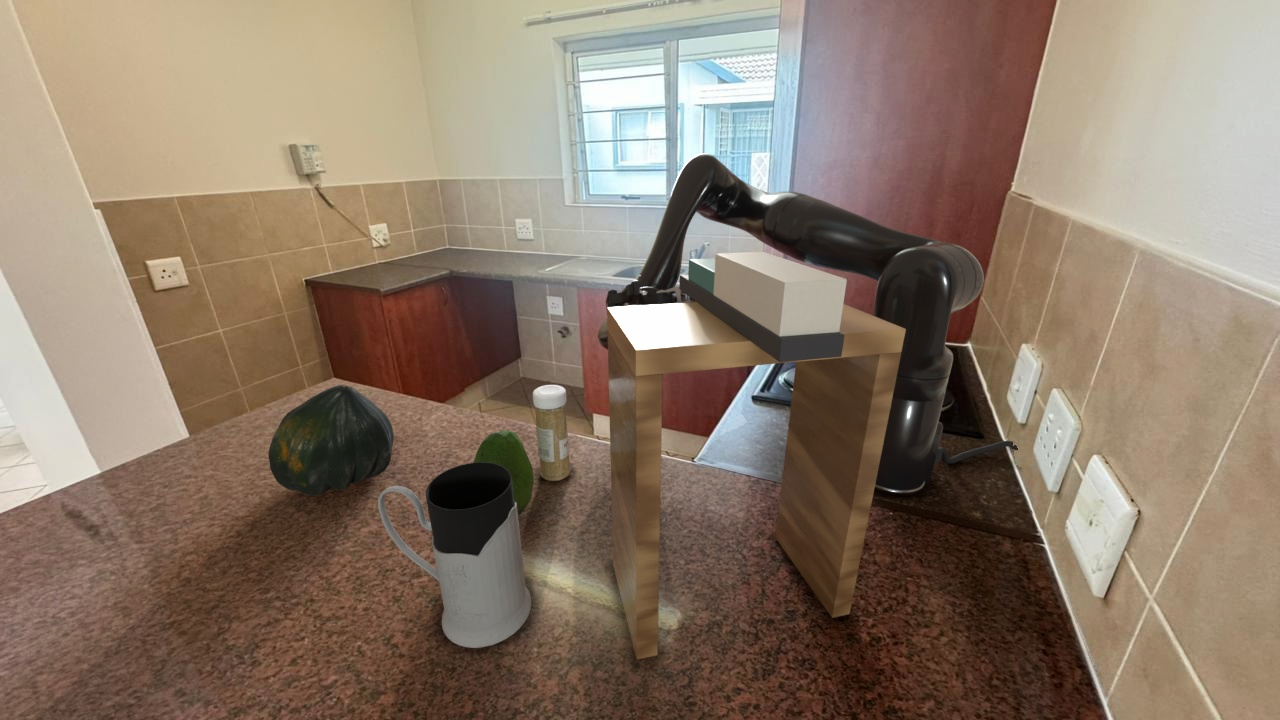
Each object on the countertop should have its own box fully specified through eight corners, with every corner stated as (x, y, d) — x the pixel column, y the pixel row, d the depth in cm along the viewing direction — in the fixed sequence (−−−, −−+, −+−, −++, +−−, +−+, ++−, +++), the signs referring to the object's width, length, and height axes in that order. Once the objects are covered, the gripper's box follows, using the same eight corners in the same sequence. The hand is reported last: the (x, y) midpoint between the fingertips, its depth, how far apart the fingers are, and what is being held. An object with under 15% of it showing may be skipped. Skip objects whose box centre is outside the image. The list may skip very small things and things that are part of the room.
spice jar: (576, 475, 73) (571, 391, 68) (547, 486, 71) (540, 399, 66) (562, 461, 77) (557, 381, 72) (534, 470, 74) (527, 388, 69)
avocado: (548, 505, 67) (542, 425, 62) (510, 542, 60) (500, 455, 56) (500, 490, 70) (491, 413, 65) (459, 524, 63) (446, 440, 59)
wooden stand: (790, 535, 61) (821, 294, 51) (849, 614, 50) (906, 328, 40) (613, 565, 56) (606, 307, 46) (636, 660, 46) (635, 350, 35)
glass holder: (510, 654, 46) (493, 520, 41) (372, 631, 48) (338, 502, 43) (543, 582, 54) (533, 463, 49) (423, 565, 56) (401, 449, 51)
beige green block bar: (720, 287, 54) (722, 238, 52) (841, 357, 34) (853, 280, 32) (679, 289, 53) (680, 239, 51) (779, 362, 33) (787, 284, 31)
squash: (233, 456, 68) (264, 390, 61) (334, 413, 81) (369, 356, 74) (301, 534, 67) (340, 477, 60) (392, 479, 80) (432, 427, 73)
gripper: (596, 297, 79) (611, 260, 63) (682, 292, 82) (717, 256, 66) (601, 343, 78) (618, 317, 62) (688, 337, 81) (724, 311, 65)
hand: (669, 286), depth 64 cm, fingers open, 8 cm apart
